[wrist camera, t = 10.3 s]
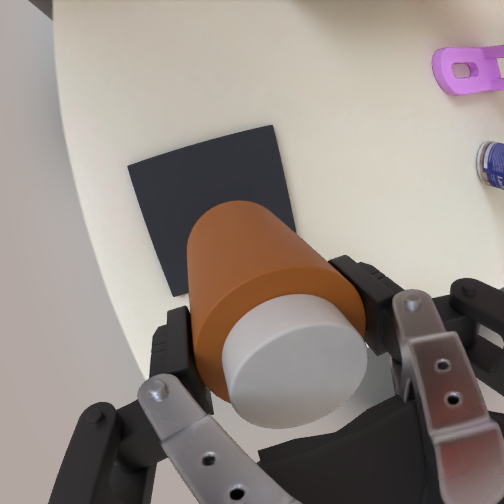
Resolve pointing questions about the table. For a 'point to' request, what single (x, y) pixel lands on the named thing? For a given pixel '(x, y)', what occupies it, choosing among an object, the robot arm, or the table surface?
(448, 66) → the bracket
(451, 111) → the table surface
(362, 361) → the bottle
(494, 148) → the pill bottle
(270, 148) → the mat
